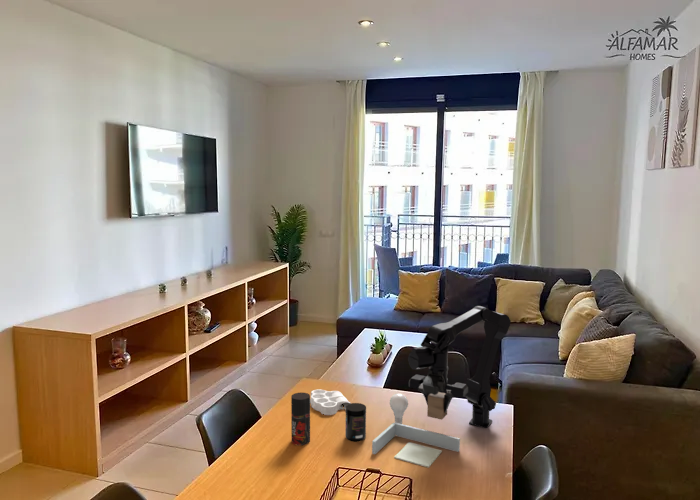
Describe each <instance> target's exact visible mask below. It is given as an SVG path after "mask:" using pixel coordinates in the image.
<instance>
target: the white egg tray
mask: <svg viewBox="0 0 700 500" xmlns="http://www.w3.org/2000/svg"><path fill="white" fill-rule="evenodd" d="M351 403H352V402H350V401H349V400H348V399H347V397H345V396H344V395H343V393H342V392H341V391H339V390H331V391H329V390H325V389H320V388H319V389H314V390H311V392H310V407H311V408H313V410H314V411H317V412H320V413H321V415H323V414H324V415H323V416H334V415H335V414H337V413H338V411H339V410H346V405H348V404H351ZM342 404H343V405H344V408H343V405H342Z"/></svg>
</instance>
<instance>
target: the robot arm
mask: <svg viewBox="0 0 700 500" xmlns="http://www.w3.org/2000/svg"><path fill="white" fill-rule="evenodd" d="M482 321H483V323H484V324H483V328H484V329H483V331H484V334H485V338H484V341H483V345H482V347H481V352H480V356H479V358H478V359H479V360H478V363H477V366H476V369H475V373H474V376H472V377H471V378H467V379H466V380H465V381H466V382H465V383H462V382H455V383H454V384H449V383H448V382H449V378H448V371H449V369H450V368H449V366H448V360H449V359H448V358H449V352H452V351H454V348H453V347H452V346H451V343H453V342H454V341H455V339H457V336H458V335H459V334H461V333H462V332H464V331H466V330H469V328H472V327H473V326H475V325H476V324H478V323H481V322H482ZM510 326H511V318H510V316H509V315H507V314H505V313H501V312H497V311H493V310H490V309H489V308H488V307H485V306H481V305H475V306H474V307H473V308H472V309H470V310H468V311H467V312H465V313H463V314H461V315H459V316H457V317H456V318H453V319H452V320H450V321H448V322H441V323H436V324H434V325H431V326H430V327H429V328H428V331H427V333H426V335H425V336H424V338H423V340H422V342H421V343H420V347H412V348H411V351H410V352H409V354H408V357H407V361H408V362H407V363H408V365H409V367H410V368H411V370H413V371H414V370H415V371H416V370H422V369H426V368H428V371H427V375H420V374H415V375H413V376H412V377H411V378H409V380H408V387H409V388H412V389H417V391H418V392H420V393H422V395H423V397H424V399H425V402H426V405H427V407H428V395H429V394H433V395H436V394H438V392H444V391H446V394H445V395H444V397H445V403H444V413H446V411H447V412H448V409H449V406H450V404H451V401H452V400H453V398H455V397H456V398H466V400H467V403H468V404H470V405H472V415H471V416H472V417H471V419H470V420H469V422H468V424H469V425H472V426H476V427H479V428H480V427H482V428H485V429H486V428H487V429H488V428H489V426H490V425H491V423H492V422H493V420H492V419H490V412H492V410H494V409H495V408H496V405H497V403H496V401H495V400H494V399H493V397H491V392H492V387H491V383H490V378H491V374H492V371H493V367H494V364H495V360H496V356H497V354H498V353H497V352H498V348H499V345H500V342H501V340H502V339H503V338H504V337H505V336H506V335H507V333H508V331H509V329H510Z"/></svg>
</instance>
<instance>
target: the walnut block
mask: <svg viewBox="0 0 700 500" xmlns="http://www.w3.org/2000/svg"><path fill="white" fill-rule="evenodd" d="M446 393H447V392H446ZM446 393H445V392H442V391H439V392H438V394H436V395H433V394H429V395H428V406H427V416H426V417H429V418H431V419H432V418H433V419H437V420H441V421H442V420H443V419H444V418H446V416H447V415H448V410H447V411H446V413H444V403H445V397H444V395H445V394H446Z"/></svg>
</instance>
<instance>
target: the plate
mask: <svg viewBox="0 0 700 500" xmlns="http://www.w3.org/2000/svg"><path fill="white" fill-rule="evenodd" d="M442 452H443V450H441V449H437V448H434V447H431V446H425V445H423V444H419V443H414V442H410V441H408V442H406V444H405V446H404V447H402V449H400V451H399V452H398V453H397V454H395V455H394V459H396V460H400V461H403V462H408V463H411V464H413V465H416V466H417V465H418V466H422V467H424V468H429V469H430V467H431V466H432V465H433V463H434V462H435V461H436V459H438V458H439V456H440V455H441V453H442Z"/></svg>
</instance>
